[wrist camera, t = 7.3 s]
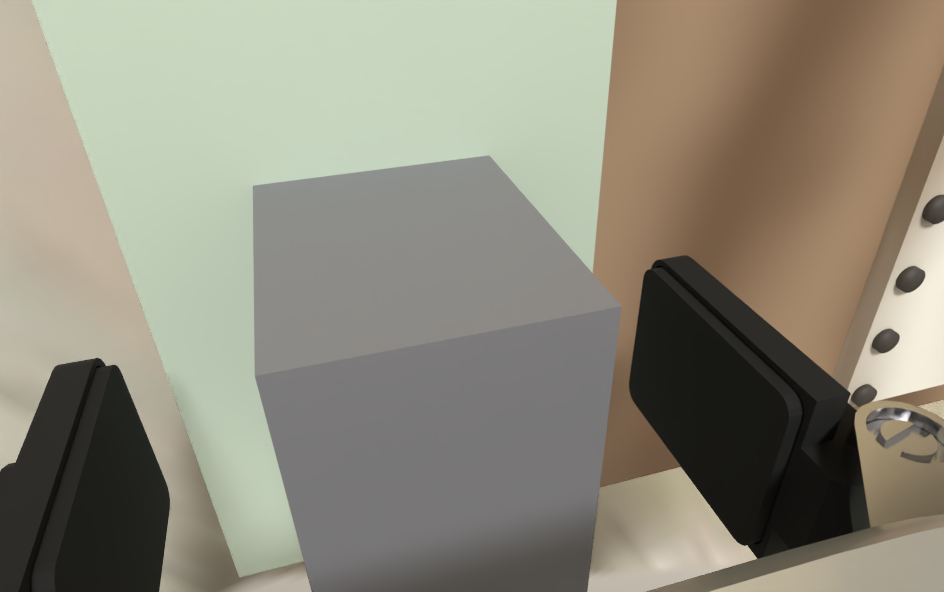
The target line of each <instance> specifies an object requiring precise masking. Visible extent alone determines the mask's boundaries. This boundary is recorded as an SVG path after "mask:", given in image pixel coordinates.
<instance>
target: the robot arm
mask: <svg viewBox="0 0 944 592" xmlns="http://www.w3.org/2000/svg"><path fill="white" fill-rule="evenodd" d="M629 391H630V395H631V398H632V400H633V402H634V403H635V405H636V406H637V408H638V409H639V410H640V412H641V413H642V414H643V416H644V417H645V418H646V420H647V421H648V422H649V424H650V425H651V427H652V428H653V429H654V431H655V432H656V433H657V435H658V436H659V437H660V439H661V440H662V441H663V443H664V444H665V445H666V447H667V448H668V450H669V451H670V452H671V454H672V455H673V456H674V458H675V459H676V460H677V462H678V463H679V464H680V466H681V467H682V469H683V470H684V471H685V473H686V474H687V475H688V477H689V478H690V479H691V481H692V482H693V483H694V485H695V486H696V487H697V489H698V490H699V492H700V493H701V494H702V496H703V497H704V498H705V500H706V501H707V502H708V504H709V505H710V506H711V508H712V509H713V511H714V512H715V513H716V515H717V516H718V517H719V519H720V520H721V521H722V523H723V524H724V525H725V527H726V528H727V530H728V531H729V532H730V534H731V535H732V536H733V538H734V539H735V540H736V541H737V542H738V543H740V544H741V545H744V546H745V545H748V547H749V548H750V549H751V551H752V552H753V553H754V555H755V556H756V557H757V559H756V560H753V561H749V562H746V563H742V564H739V565H736V566H732V567H729V568H725V569H722V570H719V571H715V572H712V573H708V574H705V575H701V576H698V577H695V578H691V579H688V580H685V581H681V582H678V583H674V584H671V585H667V586H664V587H660V588H657V589H654V590H651V591H647V592H944V419H942V418H941V417H939V416H938V415H936V414H934V413H932V412H929V411H927V410H925V409H923V408H920V407H918V406H914V405H910V404H907V403H903V402H896V401H887V400H885V401H874V402H870V403H868V404H865V405H863V406H861V407H860V408H859V410H858V411H857V410H856V409H855V408H853V407H852V406H851V405H850V404H849V403H848V400H849V397H850V395H851V393H850V392H849V391H848V390H847V389H845V388H844V387H843V386H842V385H841V384H839V383H838V382H837V381H836V380H835V379H834V378H832V377H831V376H830V375H829V374H828V373H827V372H825V371H824V370H823V369H822V368H821V367H819V366H818V365H817V364H816V363H815V362H814V361H812V360H811V359H810V358H809V357H808V356H807V355H805V354H804V353H803V352H802V351H801V350H799V349H798V348H797V347H796V346H795V345H794V344H792V343H791V342H790V341H789V340H788V339H787V338H785V337H784V336H783V335H782V334H781V333H779V332H778V331H777V330H776V329H775V328H774V327H772V326H771V325H770V324H769V323H768V322H767V321H765V320H764V319H763V318H762V317H761V316H760V315H758V314H757V313H756V312H755V311H754V310H752V309H751V308H750V307H749V306H748V305H747V304H745V303H744V302H743V301H742V300H741V299H740V298H738V297H737V296H736V295H735V294H734V293H732V292H731V291H730V290H729V289H728V288H727V287H725V286H724V285H723V284H722V283H721V282H720V281H718V280H717V279H716V278H715V277H714V276H712V275H711V274H710V273H709V272H708V271H707V270H705V269H704V268H703V267H702V266H701V265H700V264H698V263H697V262H696V261H695V260H694V259H692V258H691V257H689V256H688V255H682V256H677V257H671V258H665V259H660V260H656V261H655V262H654V263H653V265H652V267H651V269H649V270H647V271H646V272H645V274H644V277H643V284H642V291H641V299H640V306H639V313H638V320H637V328H636V335H635V342H634V349H633V356H632V364H631V371H630V378H629ZM169 510H170V498H169V491H168V487H167V484H166V481H165V479H164V476H163V474H162V472H161V469H160V467H159V464H158V462H157V459H156V457H155V454H154V452H153V449H152V447H151V445H150V442H149V440H148V437H147V435H146V432H145V430H144V427H143V425H142V422H141V420H140V418H139V415H138V413H137V410H136V408H135V405H134V403H133V400H132V398H131V395H130V393H129V391H128V388H127V386H126V383H125V381H124V378H123V376H122V373H121V371H120V369H119V368H118V367H117V366H116V365H110V366H106V365H105V363H104V362H103V361H102V360H101V359H99V358H95V359H89V360H84V361H78V362H72V363H67V364H61V365H57V366H55V368H54V369H53V371H52V374H51V376H50V379H49V381H48V384H47V386H46V388H45V391H44V393H43V396H42V398H41V401H40V403H39V406H38V408H37V411H36V413H35V416H34V418H33V421H32V423H31V426H30V428H29V431H28V433H27V436H26V438H25V441H24V443H23V446H22V448H21V451H20V453H19V455H18V458H17V460H16V463H11V464H8V465H6V466H5V467H4V468H2V469H1V471H0V592H159V588H160V580H161V572H162V564H163V557H164V549H165V541H166V533H167V525H168V517H169Z"/></svg>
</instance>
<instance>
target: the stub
mask: <svg viewBox="0 0 944 592" xmlns="http://www.w3.org/2000/svg"><path fill="white" fill-rule="evenodd" d="M32 3H33V6H34V9H35V11H36V14H37V17H38V20H39V22H40V25H41V28H42V31H43V34H44V36H45V39H46V42H47V45H48V47H49V50H50V53H51V56H52V59H53V61H54V64H55V67H56V70H57V72H58V75H59V78H60V81H61V84H62V86H63V89H64V92H65V95H66V98H67V100H68V103H69V106H70V109H71V111H72V114H73V117H74V120H75V123H76V125H77V128H78V131H79V134H80V136H81V139H82V142H83V145H84V148H85V150H86V153H87V156H88V159H89V161H90V164H91V167H92V170H93V173H94V175H95V178H96V181H97V184H98V186H99V189H100V192H101V195H102V198H103V200H104V203H105V206H106V209H107V211H108V214H109V217H110V220H111V223H112V225H113V228H114V231H115V234H116V236H117V239H118V242H119V245H120V248H121V250H122V253H123V256H124V259H125V261H126V264H127V267H128V270H129V273H130V275H131V278H132V281H133V284H134V286H135V289H136V292H137V295H138V298H139V300H140V303H141V306H142V309H143V311H144V314H145V317H146V320H147V323H148V325H149V328H150V331H151V334H152V336H153V339H154V342H155V345H156V348H157V350H158V353H159V356H160V359H161V361H162V364H163V367H164V370H165V373H166V375H167V378H168V381H169V384H170V386H171V389H172V392H173V395H174V398H175V400H176V403H177V406H178V409H179V412H180V414H181V417H182V420H183V423H184V425H185V428H186V431H187V434H188V437H189V439H190V442H191V445H192V448H193V450H194V453H195V456H196V459H197V462H198V464H199V467H200V470H201V473H202V475H203V478H204V481H205V484H206V487H207V489H208V492H209V495H210V498H211V500H212V503H213V506H214V509H215V512H216V514H217V517H218V520H219V523H220V525H221V528H222V531H223V534H224V537H225V539H226V542H227V545H228V548H229V550H230V553H231V556H232V559H233V562H234V564H235V567H236V570H237V573H238V575H239V578H241V577H244V576H248V575H252V574H256V573H260V572H264V571H268V570H272V569H276V568H280V567H284V566H288V565H292V564H295V563H299V562H303V561H304V564H305V568H306V571H307V575H308V579H309V583H310V586H311V590H312V592H587V588H588V580H589V572H590V563H591V555H592V547H593V539H594V530H595V522H596V514H597V505H598V497H599V489H600V481H601V472H602V464H603V456H604V447H605V439H606V431H607V422H608V414H609V406H610V398H611V389H612V381H613V373H614V364H615V356H616V348H617V340H618V331H619V323H620V315H621V305H620V304H619V303H618V302H617V301H616V299H615V298H614V297H613V296H612V295H611V294H610V293H609V291H608V290H607V289H606V288H605V287H604V286H603V285H602V283H601V282H600V281H599V280H598V279H597V278H596V277H595V275H594V274H593V263H594V252H595V241H596V229H597V218H598V207H599V195H600V184H601V173H602V162H603V150H604V139H605V128H606V117H607V105H608V94H609V83H610V71H611V60H612V49H613V38H614V26H615V15H616V4H617V0H32Z"/></svg>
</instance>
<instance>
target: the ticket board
mask: <svg viewBox="0 0 944 592" xmlns="http://www.w3.org/2000/svg"><path fill="white" fill-rule="evenodd" d="M682 255H688V256H689V257H691V258H692V259H694V260H695V261H696V262H697V263H698V264H700V265H701V266H702V267H703V268H704V269H705V270H707V271H708V272H709V273H710V274H711V275H712V276H714V277H715V278H716V279H717V280H718V281H720V282H721V283H722V284H723V285H724V286H725V287H727V288H728V289H729V290H730V291H731V292H732V293H734V294H735V295H736V296H737V297H738V298H740V299H741V300H742V301H743V302H744V303H745V304H747V305H748V306H749V307H750V308H751V309H752V310H754V311H755V312H756V313H757V314H758V315H760V316H761V317H762V318H763V319H764V320H765V321H767V322H768V323H769V324H770V325H771V326H772V327H774V328H775V329H776V330H777V331H778V332H779V333H781V334H782V335H783V336H784V337H785V338H787V339H788V340H789V341H790V342H791V343H792V344H794V345H795V346H796V347H797V348H798V349H799V350H801V351H802V352H803V353H804V354H805V355H807V356H808V357H809V358H810V359H811V360H812V361H814V362H815V363H816V364H817V365H818V366H819V367H821V368H822V369H823V370H824V371H825V372H827V373H828V374H829V375H830V376H831V377H832V378H834V379H835V380H836V381H837V382H838V383H839V384H841V385H842V386H843V387H844V388H845V389H847V390H848V391H849V392H850V393H851V395H850V397H849V400H848V403H849V404H850V405H851V406H852V407H853V408H855V409H856V410H857V411H858V410H859V408H860V407H861V406H863V405H865V404H868V403H870V402H874V401H885V400H887V401H896V402H903V403H907V404H910V405H914V406H920V405H924V404H928V403H932V402H936V401H940V400H944V0H617V4H616V15H615V26H614V38H613V49H612V60H611V71H610V83H609V94H608V105H607V117H606V128H605V139H604V150H603V162H602V173H601V184H600V195H599V207H598V218H597V229H596V241H595V252H594V263H593V274H594V275H595V277H596V278H597V279H598V280H599V281H600V282H601V283H602V285H603V286H604V287H605V288H606V289H607V290H608V291H609V293H610V294H611V295H612V296H613V297H614V298H615V299H616V301H617V302H618V303H619V304H620V305H621V315H620V323H619V331H618V340H617V348H616V356H615V364H614V373H613V381H612V389H611V398H610V406H609V414H608V422H607V431H606V439H605V447H604V456H603V464H602V472H601V481H600V487H603V486H607V485H611V484H615V483H619V482H623V481H627V480H631V479H634V478H638V477H642V476H646V475H650V474H654V473H658V472H662V471H666V470H670V469H674V468H677V467H681V466H680V464H679V463H678V462H677V460H676V459H675V458H674V456H673V455H672V454H671V452H670V451H669V450H668V448H667V447H666V445H665V444H664V443H663V441H662V440H661V439H660V437H659V436H658V435H657V433H656V432H655V431H654V429H653V428H652V427H651V425H650V424H649V422H648V421H647V420H646V418H645V417H644V416H643V414H642V413H641V412H640V410H639V409H638V408H637V406H636V405H635V403H634V402H633V400H632V398H631V395H630V391H629V378H630V371H631V364H632V356H633V349H634V342H635V335H636V328H637V320H638V313H639V306H640V299H641V291H642V284H643V277H644V274H645V272H646V271H647V270H649V269H651V267H652V265H653V263H654V262H655V261H656V260H660V259H665V258H671V257H677V256H682Z"/></svg>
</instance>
